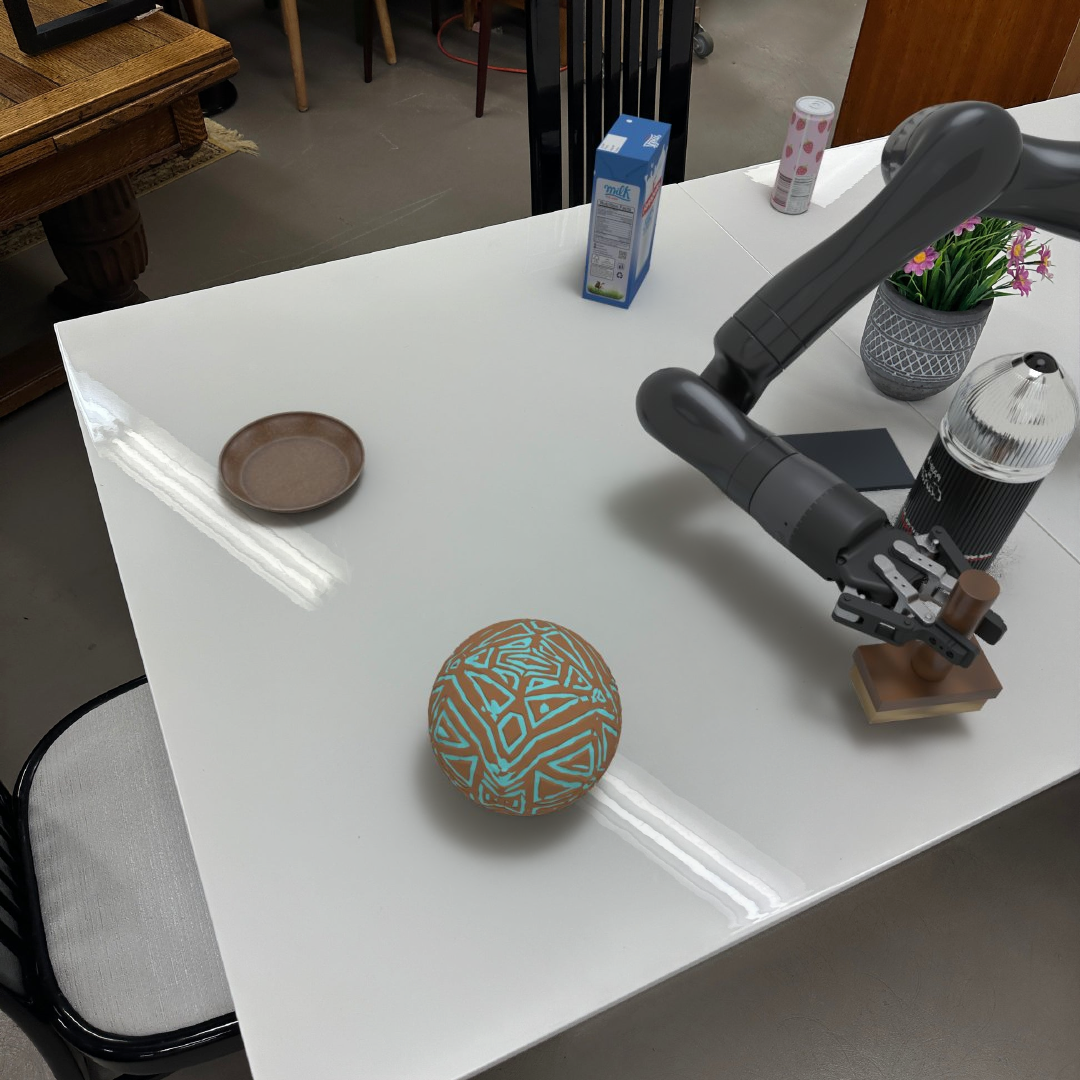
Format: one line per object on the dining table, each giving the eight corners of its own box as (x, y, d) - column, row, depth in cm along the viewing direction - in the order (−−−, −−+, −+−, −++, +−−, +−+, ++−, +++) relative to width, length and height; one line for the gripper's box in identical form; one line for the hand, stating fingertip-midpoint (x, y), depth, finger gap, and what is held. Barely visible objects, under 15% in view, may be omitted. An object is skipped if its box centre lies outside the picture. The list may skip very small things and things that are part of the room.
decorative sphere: (407, 824, 76) (395, 726, 65) (460, 670, 86) (457, 562, 75) (592, 869, 75) (613, 776, 63) (625, 707, 84) (647, 602, 73)
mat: (884, 431, 110) (886, 427, 110) (916, 487, 104) (917, 483, 104) (767, 439, 108) (768, 435, 108) (793, 497, 103) (794, 493, 102)
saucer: (354, 419, 107) (352, 400, 105) (378, 513, 98) (376, 494, 96) (217, 440, 104) (212, 421, 102) (229, 540, 95) (224, 521, 93)
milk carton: (627, 309, 124) (648, 160, 109) (582, 298, 125) (596, 149, 110) (649, 269, 130) (671, 123, 115) (605, 259, 131) (621, 113, 116)
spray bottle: (910, 596, 94) (1017, 399, 76) (870, 519, 101) (959, 321, 82) (1006, 587, 96) (1135, 391, 77) (961, 511, 102) (1069, 315, 84)
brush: (956, 659, 86) (1027, 549, 75) (984, 713, 82) (1063, 607, 71) (843, 671, 84) (898, 562, 73) (867, 727, 81) (928, 621, 70)
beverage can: (809, 198, 145) (837, 98, 133) (807, 217, 141) (836, 116, 130) (771, 192, 145) (795, 92, 134) (768, 211, 142) (793, 110, 130)
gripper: (770, 523, 77) (951, 667, 68) (880, 451, 83) (1059, 575, 75) (751, 581, 83) (916, 722, 74) (855, 510, 89) (1019, 632, 80)
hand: (986, 647), depth 74 cm, fingers closed on brush, 3 cm apart
